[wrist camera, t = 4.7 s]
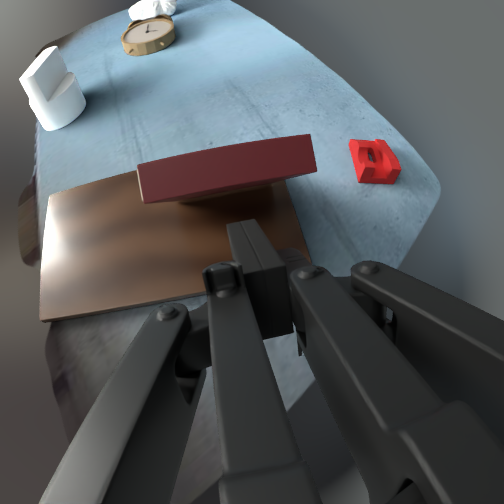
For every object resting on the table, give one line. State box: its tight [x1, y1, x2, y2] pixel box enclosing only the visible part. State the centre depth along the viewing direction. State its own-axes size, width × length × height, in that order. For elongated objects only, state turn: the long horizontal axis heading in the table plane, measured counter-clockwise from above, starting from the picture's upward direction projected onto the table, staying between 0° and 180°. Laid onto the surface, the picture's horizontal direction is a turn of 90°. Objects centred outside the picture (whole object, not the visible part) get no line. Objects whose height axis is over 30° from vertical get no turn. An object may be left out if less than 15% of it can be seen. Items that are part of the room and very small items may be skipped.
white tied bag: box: [129, 0, 177, 21], centre depth 56 cm, size 12×8×11 cm
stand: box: [40, 170, 312, 323], centre depth 34 cm, size 17×30×1 cm, turn 102°
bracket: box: [349, 139, 401, 184], centre depth 37 cm, size 6×5×3 cm
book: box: [137, 134, 317, 204], centre depth 27 cm, size 2×11×16 cm
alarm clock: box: [121, 14, 176, 56], centre depth 52 cm, size 11×5×15 cm
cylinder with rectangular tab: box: [19, 46, 86, 131], centre depth 39 cm, size 9×9×12 cm
